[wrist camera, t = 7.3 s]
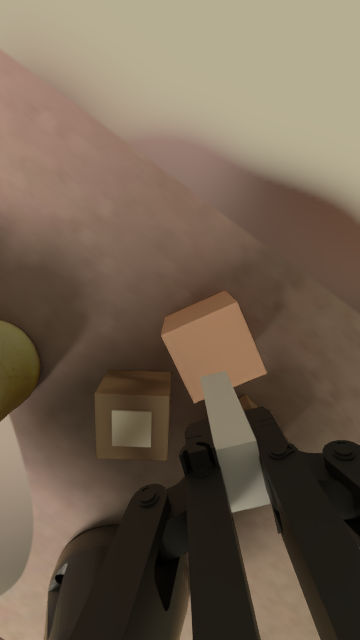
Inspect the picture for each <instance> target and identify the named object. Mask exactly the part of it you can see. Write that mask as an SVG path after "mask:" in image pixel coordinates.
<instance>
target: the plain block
mask: <svg viewBox="0 0 360 640" xmlns="http://www.w3.org/2000/svg"><path fill="white" fill-rule="evenodd" d="M161 337H162V339H163V341H164V343H165V345H166V347H167V349H168V351H169V353H170V355H171V357H172V359H173V361H174V363H175V365H176V367H177V369H178V371H179V374H180V376H181V378H182V380H183V382H184V384H185V386H186V388H187V390H188V392H189V394H190V396H191V398H192V400H193V402H194V403H196V402H199V401H201V400H204V394H203V389H202V384H201V380H200V377H202V376H206V375H210V374H214V373H218V372H222V371H226V372H227V374H228V377H229V379H230V381H231V384H232V386H233V387H235V386H238V385H240V384H243V383H245V382H247V381H250V380H252V379H255V378H257V377H260V376H262V375H264V374H267V372H266V369H265V367H264V365H263V362H262V360H261V357H260V355H259V353H258V350H257V348H256V346H255V343H254V341H253V338H252V336H251V334H250V331H249V329H248V326H247V324H246V322H245V319H244V317H243V314H242V312H241V310H240V307H239V305H238V302H237V301H236V300H235V299H234V298H233V297H232V296H231V295H230V294H229V293H228V292H227V291H226V290H224V291H222V292H220V293H218V294H215V295H213V296H211V297H209V298H206V299H204V300H202V301H200V302H198V303H195V304H193V305H191V306H189V307H186V308H184V309H182V310H180V311H177V312H175V313H173V314H171V315H168V316H166V317H165V319H164V323H163V328H162V332H161Z"/></svg>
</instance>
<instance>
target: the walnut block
mask: <svg viewBox="0 0 360 640" xmlns="http://www.w3.org/2000/svg"><path fill="white" fill-rule="evenodd" d="M170 391H171V372H158V371H131V370H108V371H107V373H106V375H105V376H104V378H103V380H102V382H101V383H100V385H99V387H98V388H97V390H96V392H95V393H94V394H95V430H96V458H100V459H128V460H156V461H167V455H168V439H169V420H170Z"/></svg>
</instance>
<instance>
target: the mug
mask: <svg viewBox="0 0 360 640" xmlns="http://www.w3.org/2000/svg"><path fill="white" fill-rule="evenodd" d="M39 374H40V360H39V357H38V353H37V351H36V349H35V346H34V344H33V343H32V341H31V340H30V339H29V337H28V336H27V335H26V334H25V333H24V332H23V331H22V330H21V329H19V328H18V327H16V326H14V325H12V324H10V323H8V322H5V321H1V320H0V421H1V420H3V419H4V418H5V417H6V416H7V415H8V414H9V413H10V412H11V411H12V410H14V409H15V408H17V407H18V406H19V405H21V404H22V403H23V402H24V401H25V400H26V399H27V398H28V397H29V396H30V394H31V393H32V392H33V390H34V389H35V387H36V385H37V382H38V378H39Z"/></svg>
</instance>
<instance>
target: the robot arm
mask: <svg viewBox="0 0 360 640" xmlns="http://www.w3.org/2000/svg"><path fill="white" fill-rule="evenodd" d="M200 380H201V384H202V389H203V394H204V399H205V404H206V409H207V414H208V418H209V420H206V421H201V422H197V423H193V424H189V425H188V427H187V429H186V431H185V439H186V445H185V446H184V447H183V448H182V450H181V451H180V454H179V457H180V460H181V464H182V467H183V471H184V474H185V476H184V478H183V479H182V480H181V481H180V482H179V483H178V484H176V485H174V486H173V487H171V488H169V489H167V490H166V489H165V487H163V486H162V485H159V484H151V485H147V486H145V487H143V488H141V489H139V490H138V491H137V492H136V493H135V494H134V496H133V497H132V499H131V501H130V503H129V505H128V507H127V510H126V512H125V514H124V516H123V519H122V521H121V523H120V525H110V526H103V527H99V528H95V529H92V530H90V531H87V532H85V533H83V534H81V535H79V536H78V537H76V538H75V539H74V540H72V541H71V542H70V543H69V544H68V545H67V546H66V548H65V549H64V550H63V552H62V553H61V555H60V557H59V559H58V562H57V564H56V567H55V570H54V572H53V575H52V577H51V581H50V585H49V590H48V601H47V612H46V623H45V634H44V640H179V638H180V635H181V631H182V627H183V623H184V619H185V615H186V612H187V607H188V599H189V590H188V571H187V567H186V564H185V553H187V552H188V551H189V571H190V591H191V611H192V631H193V640H261V639H260V635H259V630H258V626H257V621H256V617H255V612H254V608H253V603H252V599H251V595H250V590H249V586H248V581H247V577H246V572H245V568H244V563H243V559H242V555H241V550H240V546H239V541H238V537H237V532H236V528H235V524H234V520H233V516H232V513H233V512H237V511H241V510H246V509H250V508H255V507H259V506H264V505H268V504H270V501H271V504H272V508H273V512H274V517H275V522H276V526H277V531H278V533H281V535H282V538H283V541H284V543H285V546H286V549H287V551H288V554H289V557H290V559H291V562H292V565H293V567H294V570H295V573H296V575H297V578H298V581H299V583H300V586H301V589H302V591H303V594H304V596H305V599H306V602H307V604H308V607H309V610H310V612H311V615H312V618H313V620H314V623H315V626H316V628H317V631H318V634H319V636H320V639H321V640H360V549H359V547H360V445H358V444H356V443H354V442H350V441H345V440H337V441H333V442H330V443H328V444H327V445H325V446H324V448H323V453H305V452H301V451H298V449H297V448H296V447H295V446H294V445H293V444H290V443H288V441H287V439H286V438H285V436H284V434H283V433H282V431H281V429H280V428H279V426H278V424H277V423H276V421H275V419H274V418H273V416H272V414H271V413H270V411H269V410H267V409H265V408H264V407H262V406H261V407H257V408H253V409H249V410H244V411H243V409H242V406H241V404H240V402H239V400H238V397H237V395H236V393H235V390H234V388H233V386H232V384H231V381H230V379H229V377H228V374H227V372H226V371H222V372H218V373H214V374H210V375H206V376H202V377H200ZM269 498H270V500H269ZM357 545H358V546H359V547H358V546H357ZM0 640H4V639H3V638H1V637H0Z"/></svg>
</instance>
